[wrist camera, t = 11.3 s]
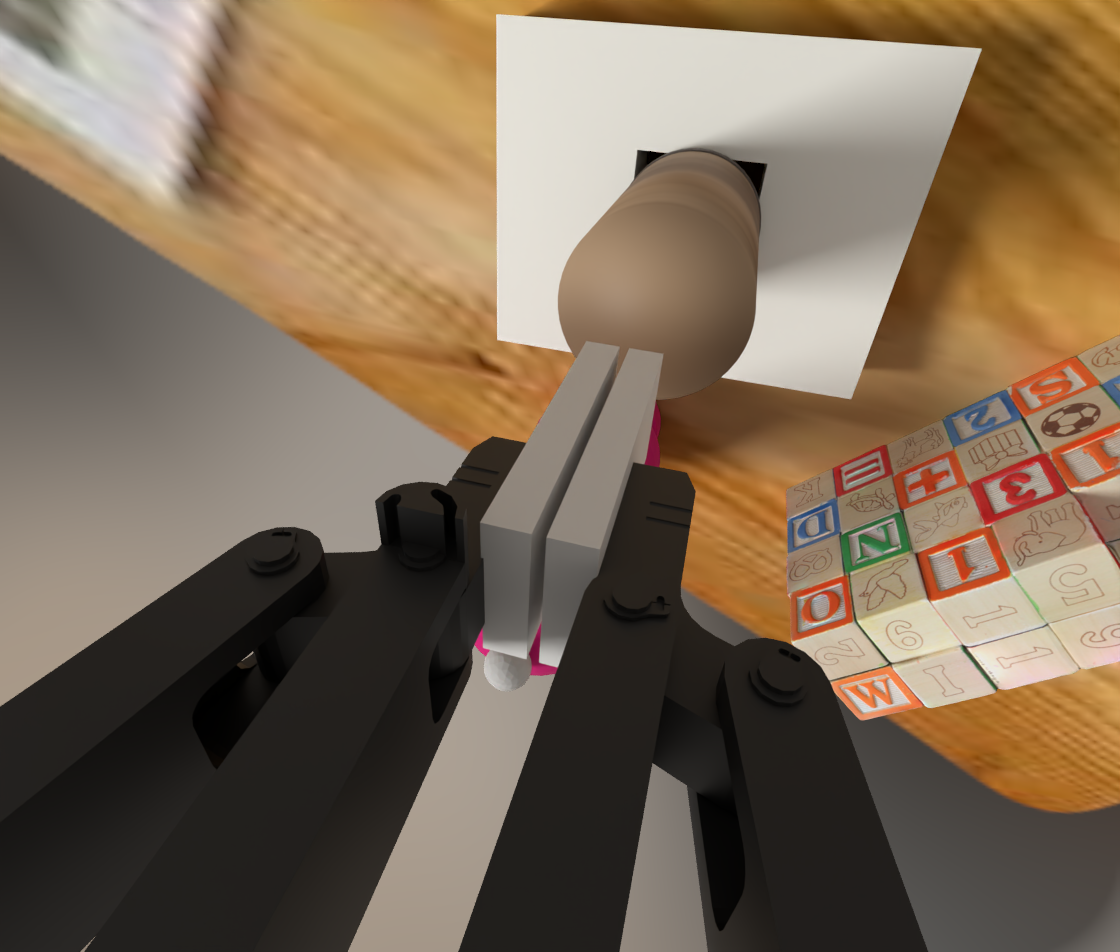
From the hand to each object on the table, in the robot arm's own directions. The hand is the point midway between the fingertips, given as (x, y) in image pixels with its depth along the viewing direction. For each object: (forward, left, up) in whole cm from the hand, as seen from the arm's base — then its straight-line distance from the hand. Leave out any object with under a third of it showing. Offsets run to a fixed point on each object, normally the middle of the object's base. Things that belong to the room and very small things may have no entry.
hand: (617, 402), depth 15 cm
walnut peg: (0, 0, -20) cm, 20 cm away
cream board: (0, 0, -20) cm, 20 cm away
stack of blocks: (+10, +18, -21) cm, 29 cm away
